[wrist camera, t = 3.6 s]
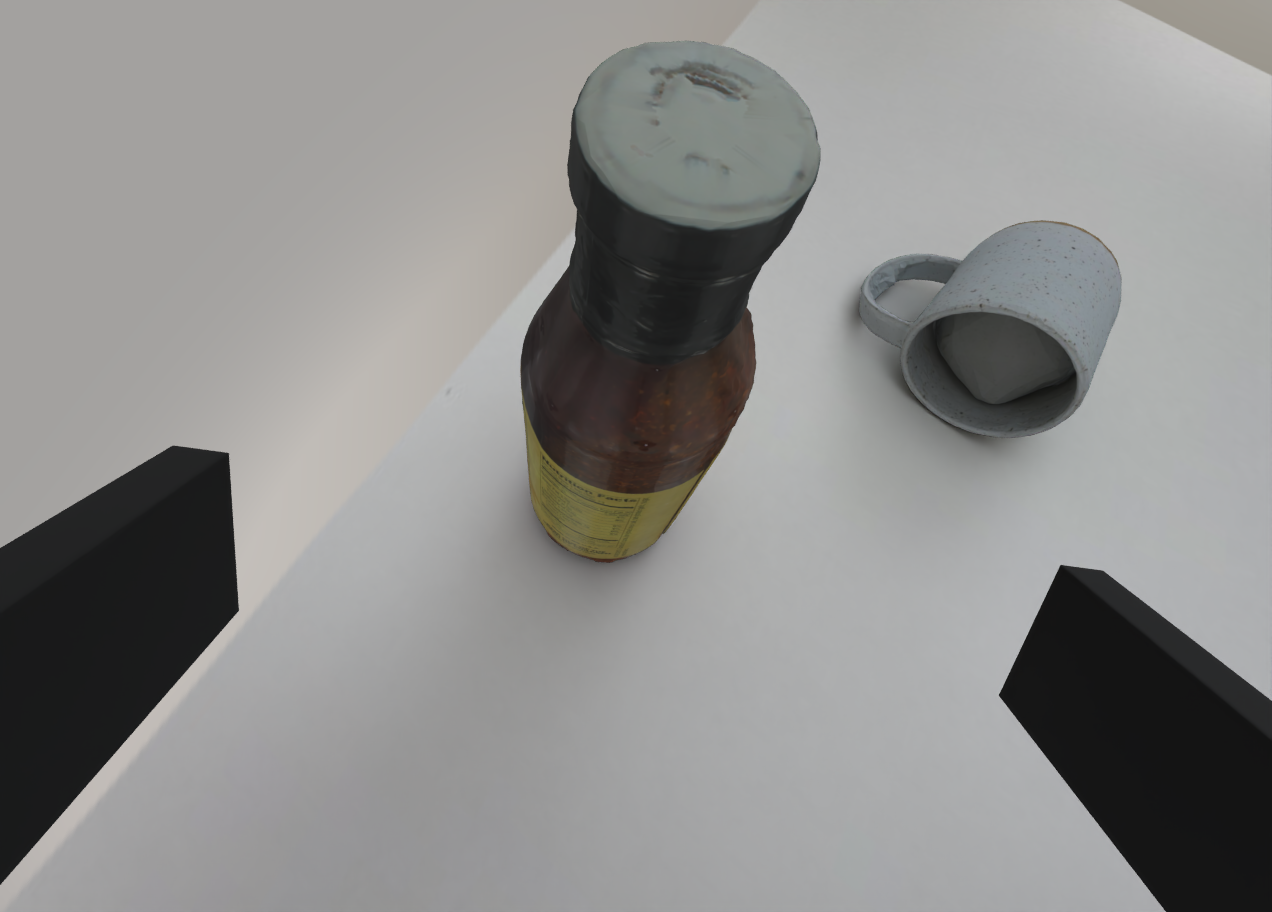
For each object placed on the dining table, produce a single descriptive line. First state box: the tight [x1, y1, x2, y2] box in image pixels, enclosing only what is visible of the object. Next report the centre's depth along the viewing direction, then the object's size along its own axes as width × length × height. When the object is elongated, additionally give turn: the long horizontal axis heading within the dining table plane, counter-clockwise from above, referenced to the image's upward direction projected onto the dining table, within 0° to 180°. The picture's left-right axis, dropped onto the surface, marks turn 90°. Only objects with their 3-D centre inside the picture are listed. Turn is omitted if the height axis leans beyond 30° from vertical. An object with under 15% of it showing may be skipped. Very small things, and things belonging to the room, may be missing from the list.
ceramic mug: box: [859, 221, 1121, 438], centre depth 31 cm, size 11×8×8 cm
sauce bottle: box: [521, 41, 820, 563], centre depth 19 cm, size 7×6×20 cm
